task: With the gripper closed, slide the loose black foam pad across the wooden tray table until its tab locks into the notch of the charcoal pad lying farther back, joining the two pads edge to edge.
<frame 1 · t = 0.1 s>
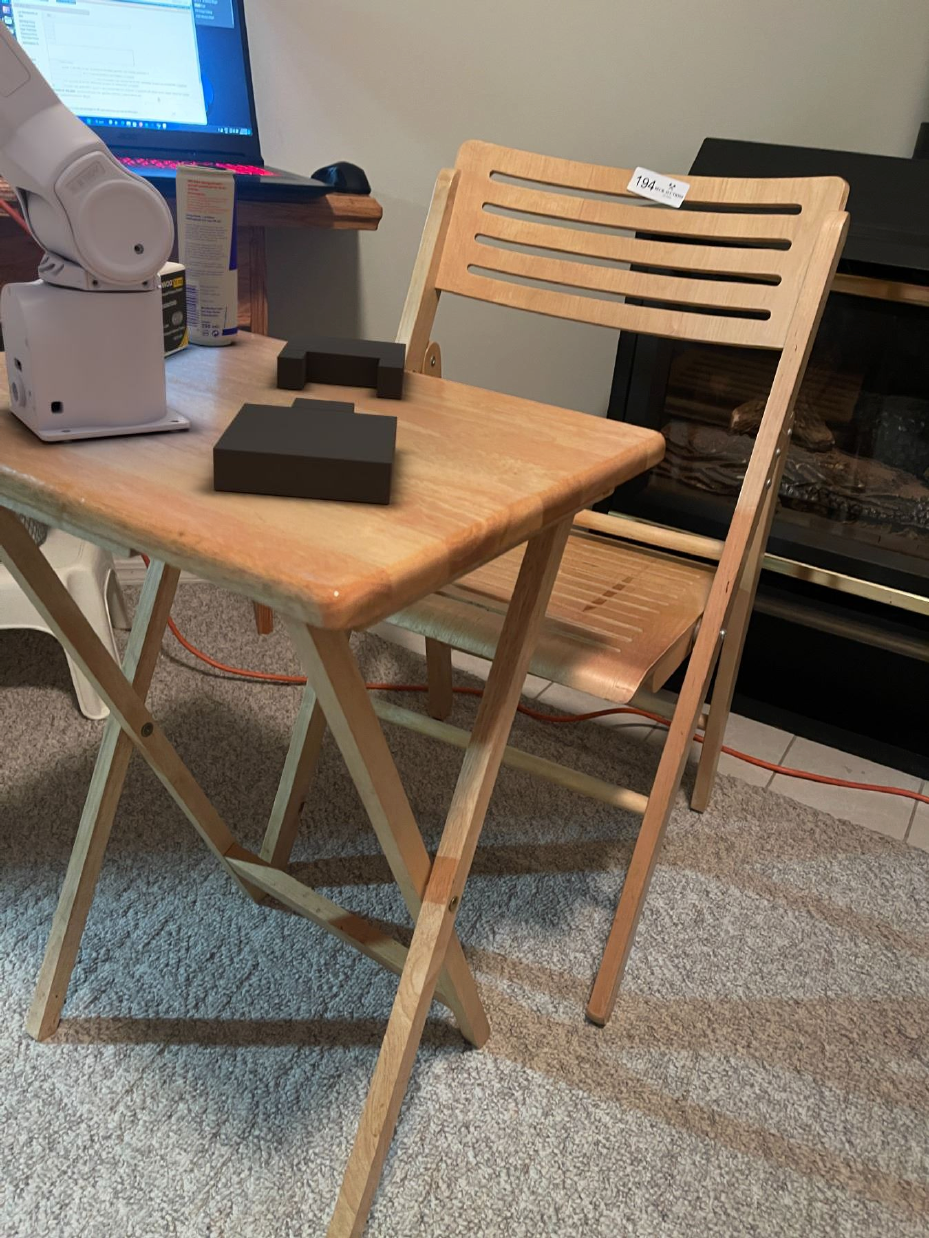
black printed box: (133, 352, 82), on the table
loose pad: (311, 470, 58), on the table
beverage can: (210, 343, 88), on the table
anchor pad: (344, 379, 80), on the table
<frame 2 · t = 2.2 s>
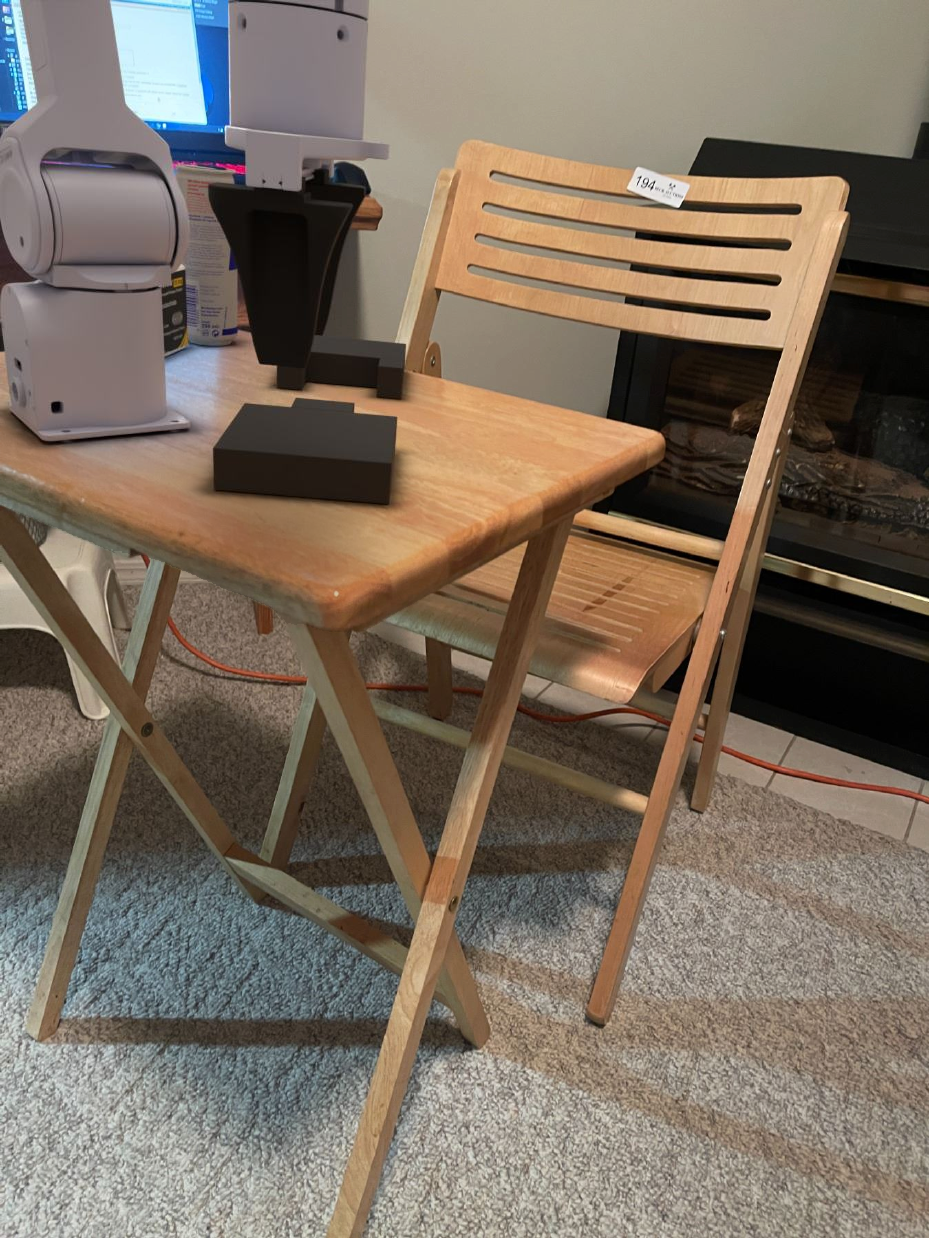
hand: (293, 347, 45), 9 cm above the table, tool pointing down, fingers open, 7 cm apart
nothing on the table moved.
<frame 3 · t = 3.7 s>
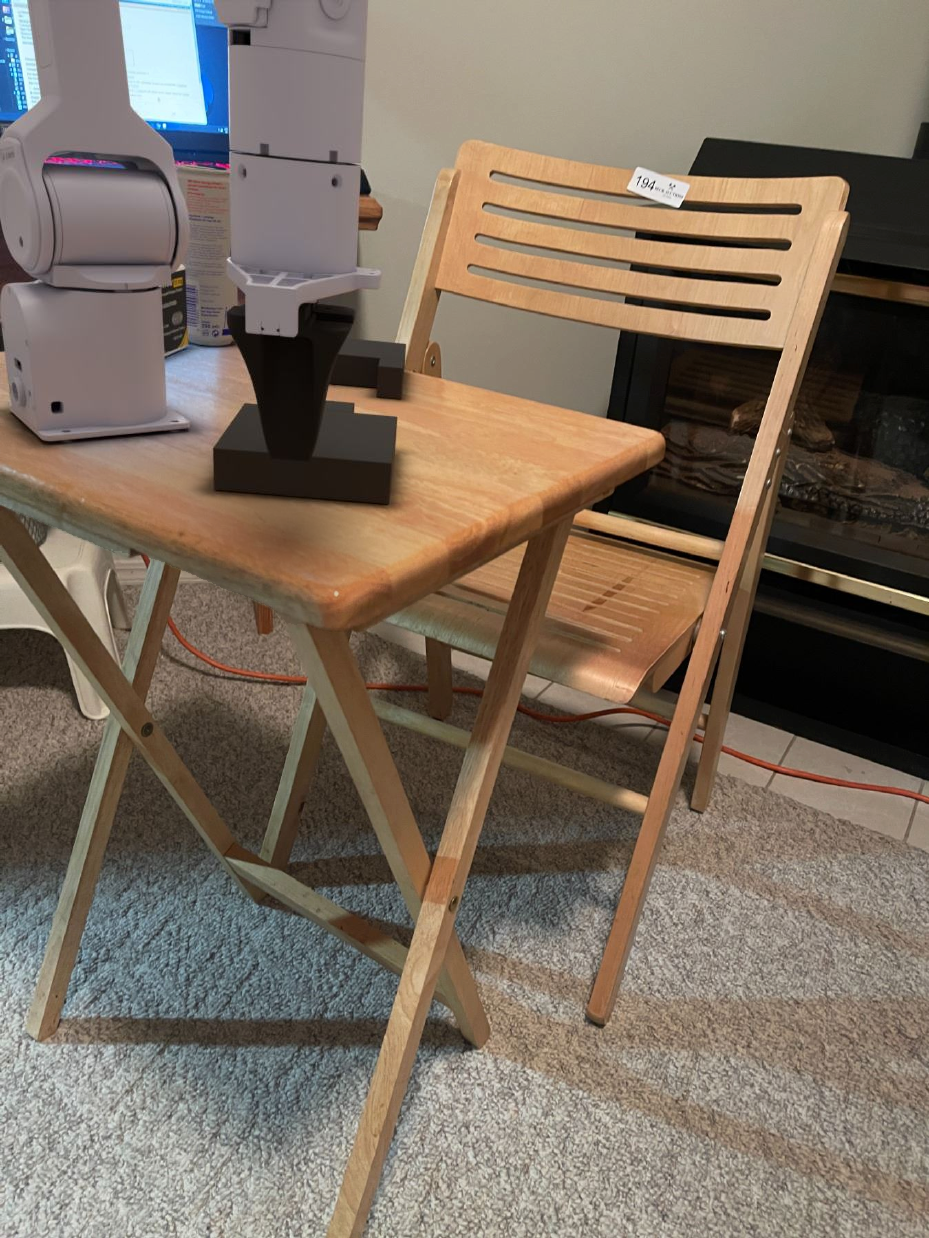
hand: (291, 456, 47), 4 cm above the table, tool pointing down, fingers closed
nothing on the table moved.
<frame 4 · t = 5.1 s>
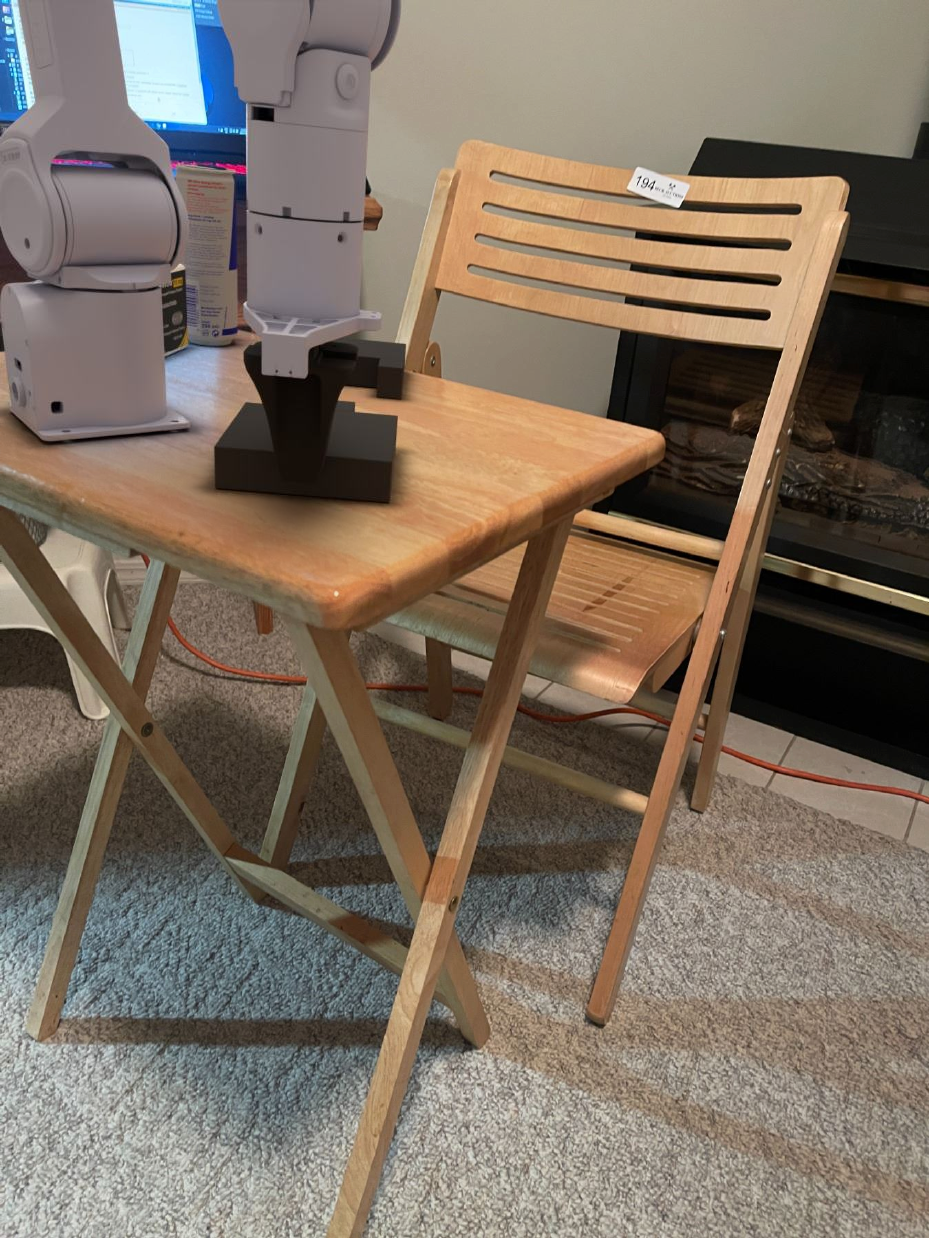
hand: (300, 478, 52), 1 cm above the table, tool pointing down, fingers closed
loose pad: (312, 468, 58), on the table, touching gripper
everything else where it was.
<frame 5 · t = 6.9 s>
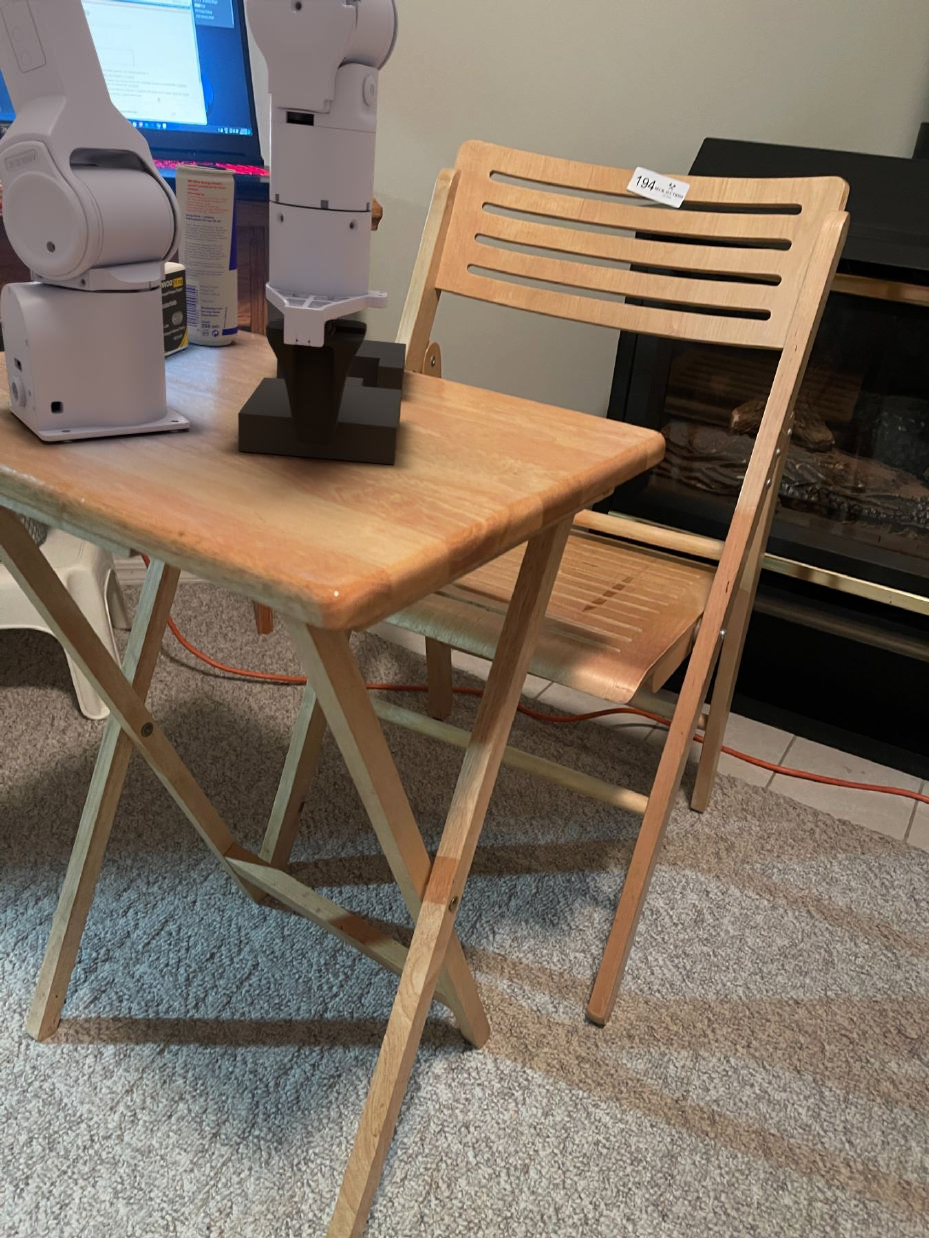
hand: (314, 441, 59), 1 cm above the table, tool pointing down, fingers closed
loose pad: (324, 436, 65), on the table, touching gripper
everything else where it was.
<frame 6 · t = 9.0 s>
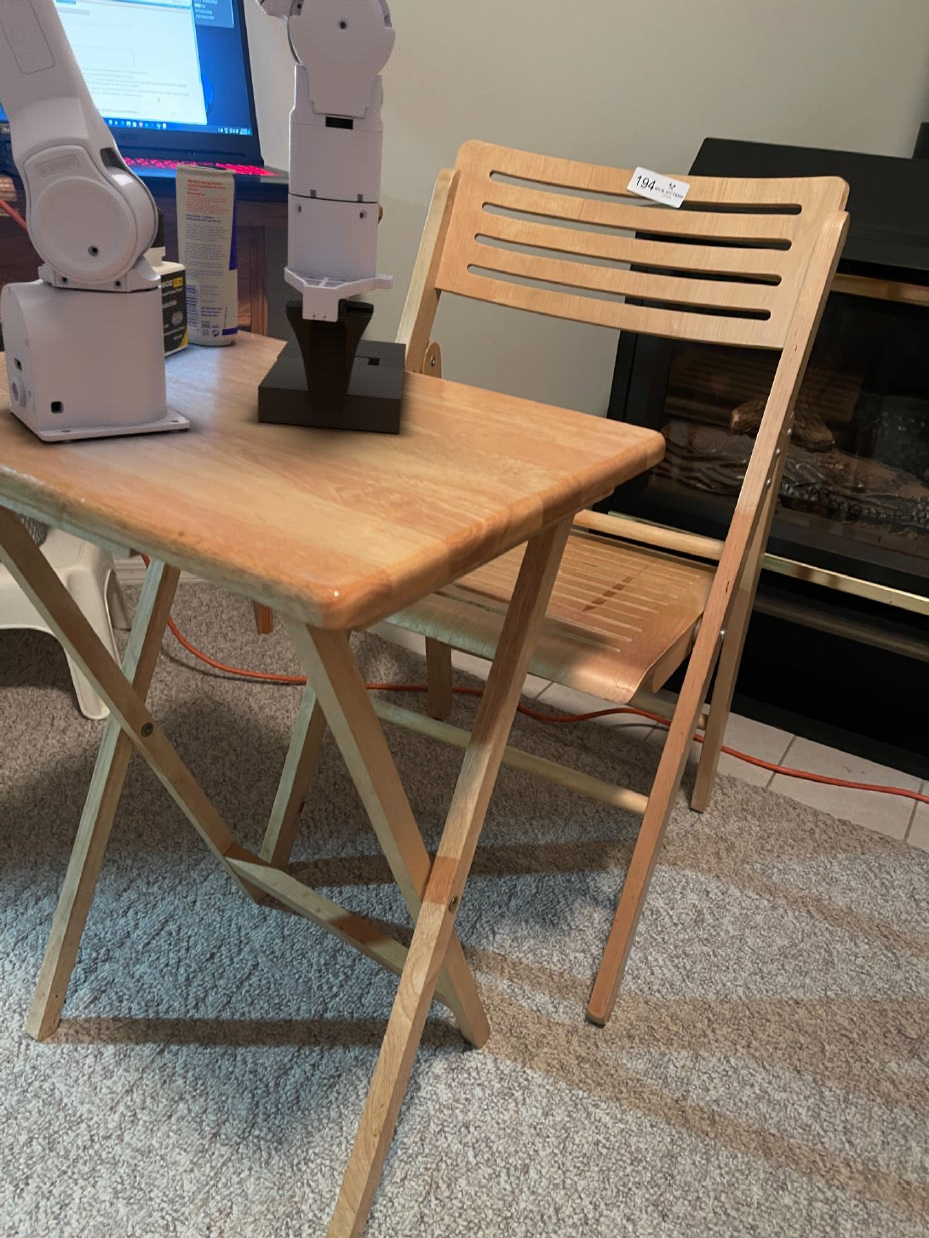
hand: (327, 410, 65), 1 cm above the table, tool pointing down, fingers closed
loose pad: (335, 409, 71), on the table, touching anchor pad, gripper
everything else where it was.
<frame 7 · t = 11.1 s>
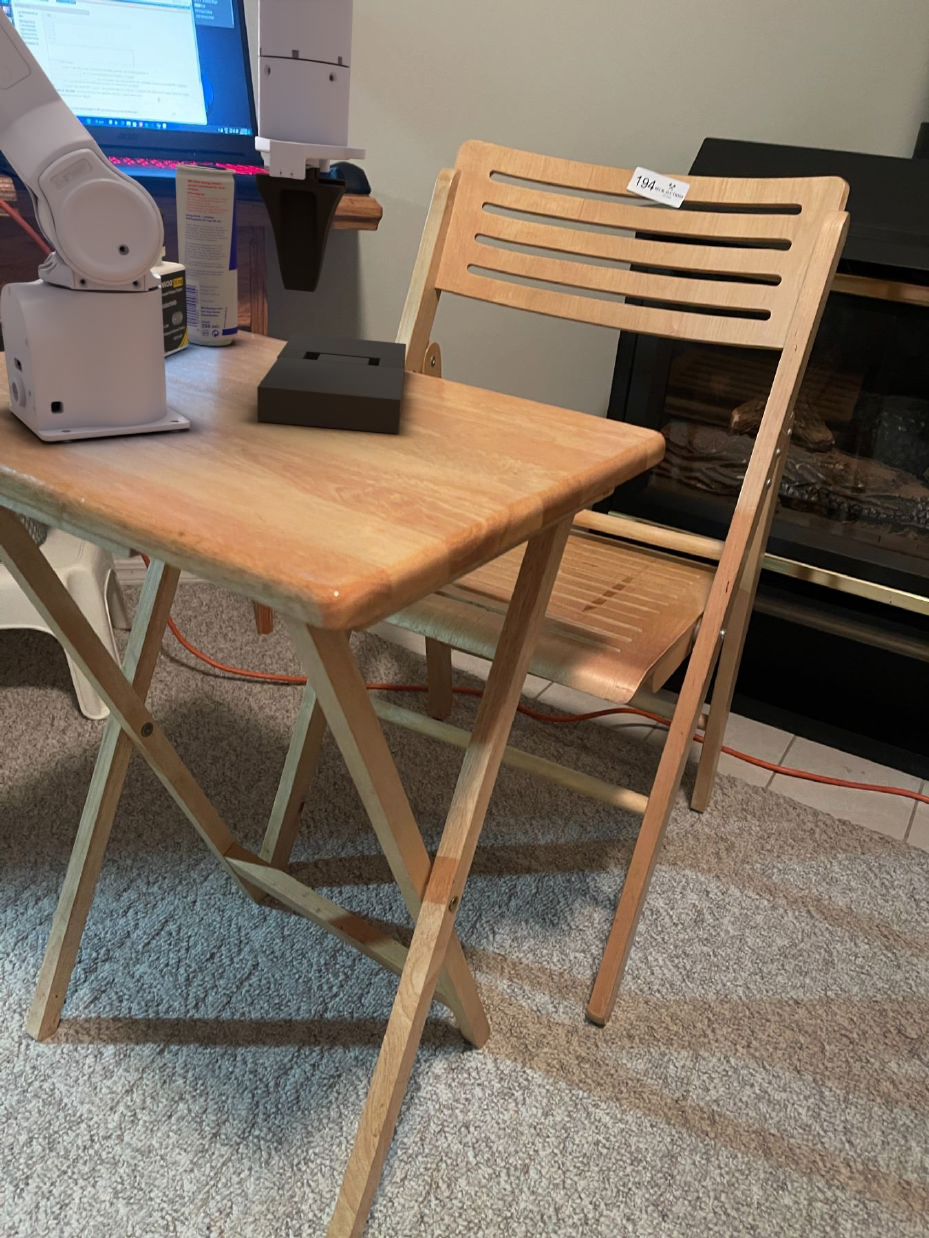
hand: (300, 289, 65), 9 cm above the table, tool pointing down, fingers closed
loose pad: (334, 409, 71), on the table, touching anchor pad
everything else where it was.
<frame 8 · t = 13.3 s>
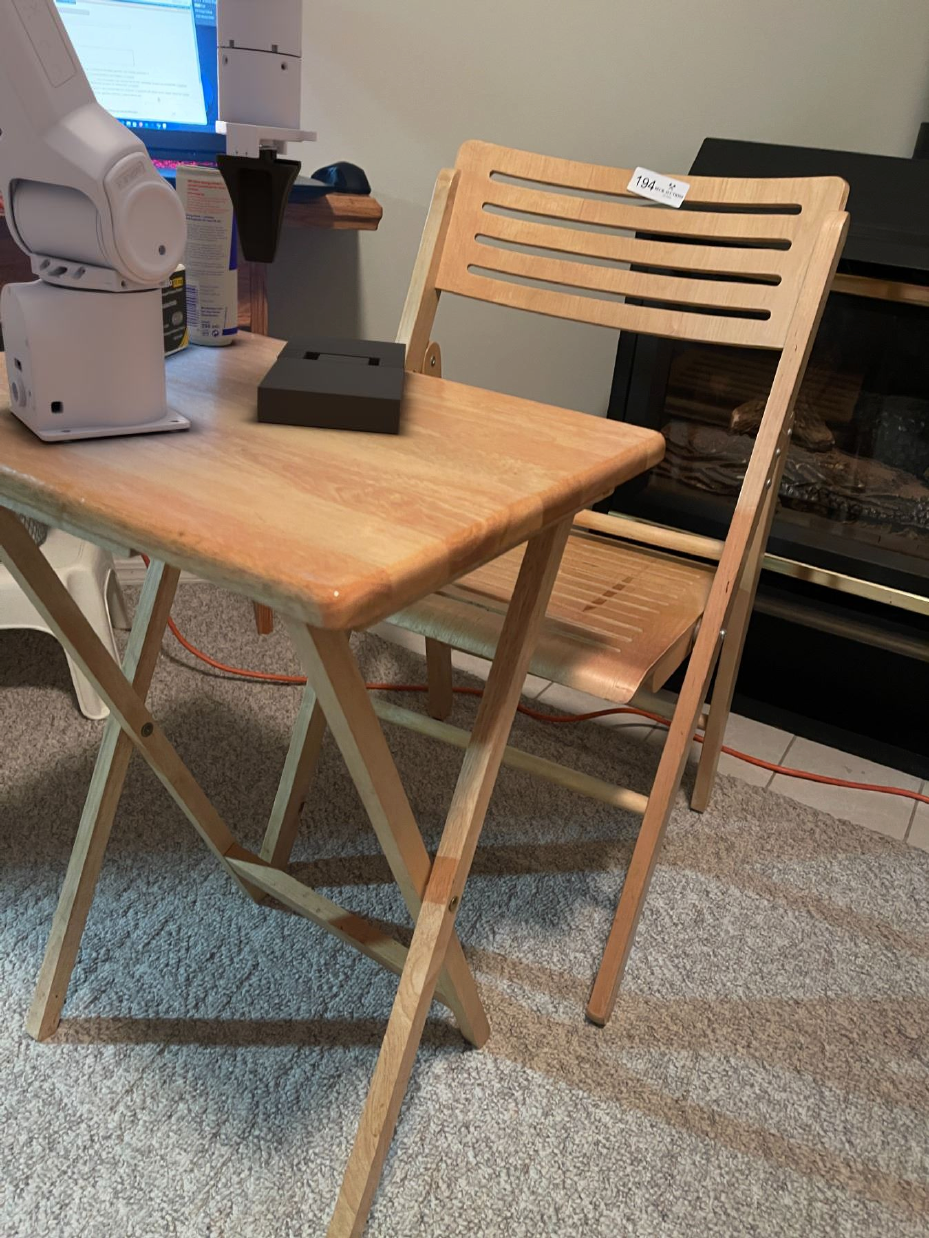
hand: (259, 261, 71), 9 cm above the table, tool pointing down, fingers closed
nothing on the table moved.
at the end: loose pad 0.1 cm from the target spot on the table beside the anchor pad, on the table; loose pad 10.0 cm from the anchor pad (horizontally) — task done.
